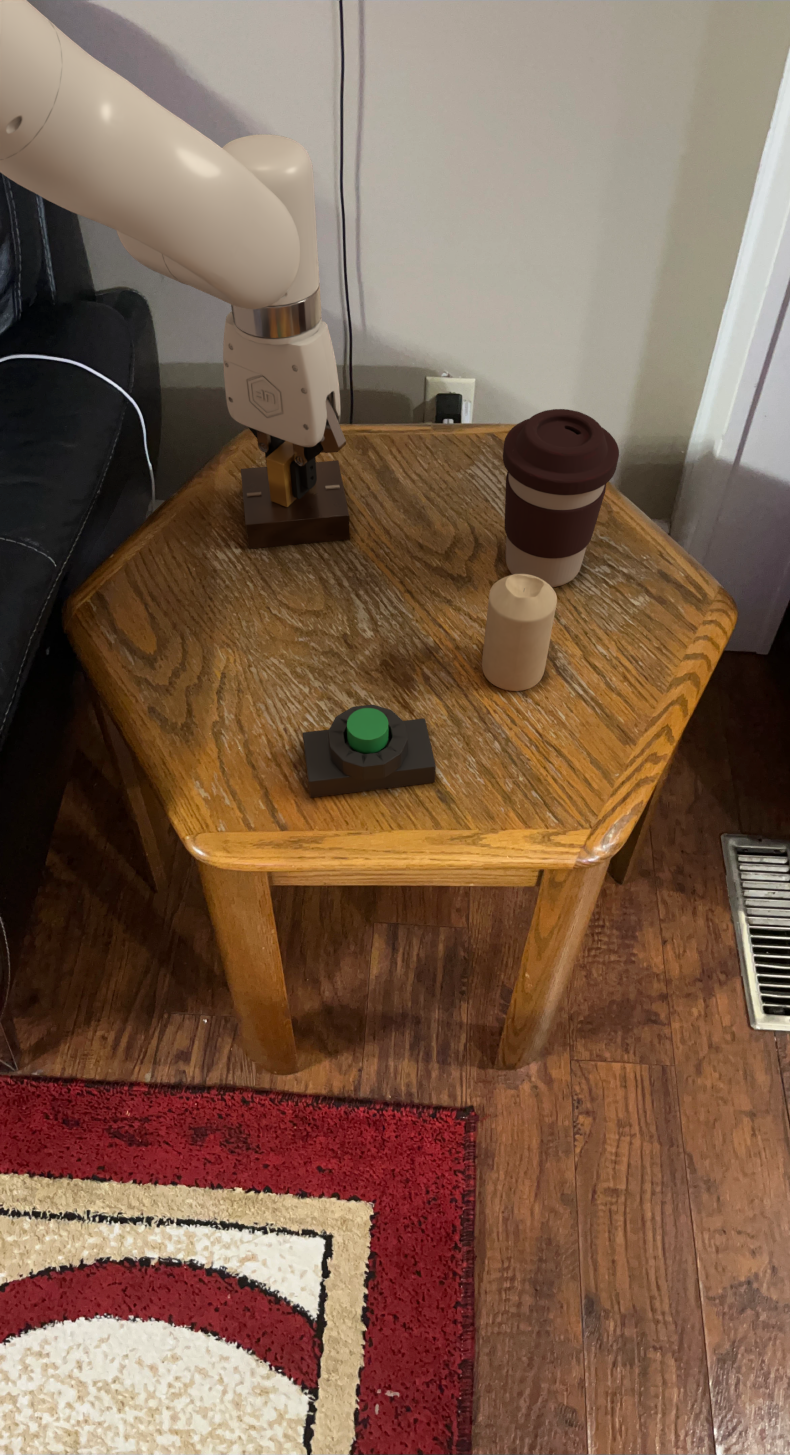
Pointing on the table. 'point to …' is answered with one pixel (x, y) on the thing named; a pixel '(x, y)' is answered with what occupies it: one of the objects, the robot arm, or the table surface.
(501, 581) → the candle
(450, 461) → the table surface
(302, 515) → the plate
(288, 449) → the thumbturn
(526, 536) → the coffee cup
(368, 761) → the dark grey button housing
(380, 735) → the arm button
